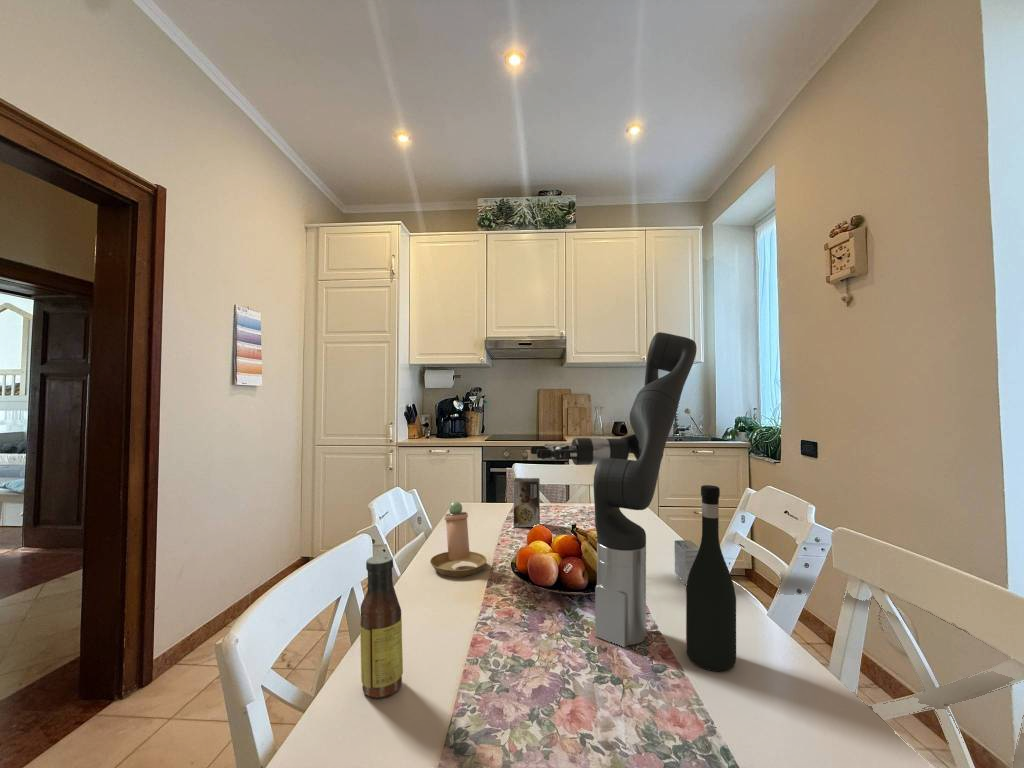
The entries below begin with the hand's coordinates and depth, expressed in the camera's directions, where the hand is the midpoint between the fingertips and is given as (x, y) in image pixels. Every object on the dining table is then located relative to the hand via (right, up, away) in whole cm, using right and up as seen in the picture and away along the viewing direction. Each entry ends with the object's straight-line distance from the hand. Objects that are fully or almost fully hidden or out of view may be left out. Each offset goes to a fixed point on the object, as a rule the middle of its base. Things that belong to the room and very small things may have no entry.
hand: (533, 451), depth 128 cm
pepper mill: (-20, -27, -5) cm, 34 cm away
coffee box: (-1, -31, +35) cm, 47 cm away
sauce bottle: (-26, -29, -56) cm, 68 cm away
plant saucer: (-20, -30, -6) cm, 37 cm away
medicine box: (+38, -30, -12) cm, 50 cm away
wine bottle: (+28, -29, -47) cm, 63 cm away
